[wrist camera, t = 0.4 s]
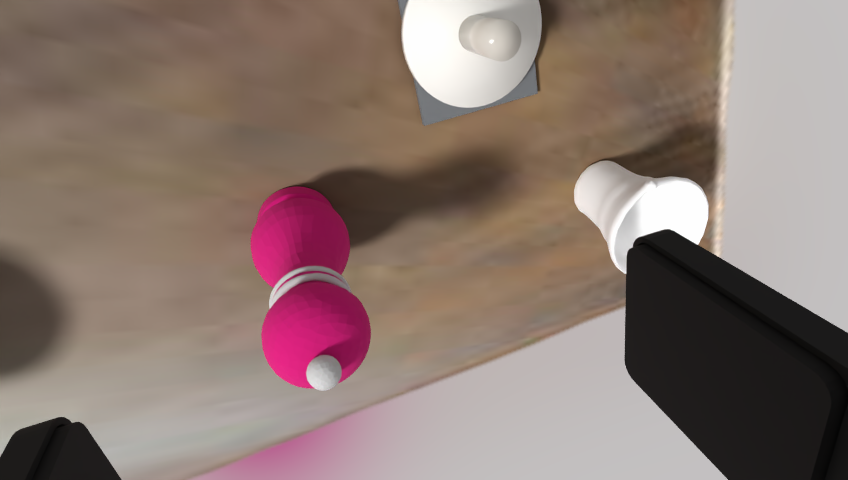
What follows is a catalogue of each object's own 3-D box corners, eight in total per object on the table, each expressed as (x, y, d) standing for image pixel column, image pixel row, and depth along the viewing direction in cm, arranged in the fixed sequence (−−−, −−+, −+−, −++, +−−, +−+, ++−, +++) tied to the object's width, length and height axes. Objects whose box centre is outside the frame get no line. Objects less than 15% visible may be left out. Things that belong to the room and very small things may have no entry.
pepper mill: (354, 196, 44) (419, 339, 26) (323, 269, 46) (365, 446, 29) (268, 167, 40) (278, 308, 23) (238, 247, 43) (229, 430, 25)
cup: (626, 124, 48) (708, 156, 39) (640, 207, 53) (716, 252, 44) (541, 165, 47) (605, 207, 39) (563, 246, 52) (624, 299, 44)
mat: (389, -41, 37) (391, -41, 36) (520, -71, 38) (523, -72, 38) (422, 124, 42) (424, 125, 42) (534, 92, 44) (537, 93, 44)
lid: (385, -31, 36) (407, -33, 31) (530, -65, 38) (573, -72, 33) (417, 121, 42) (440, 141, 37) (542, 85, 43) (581, 100, 38)
